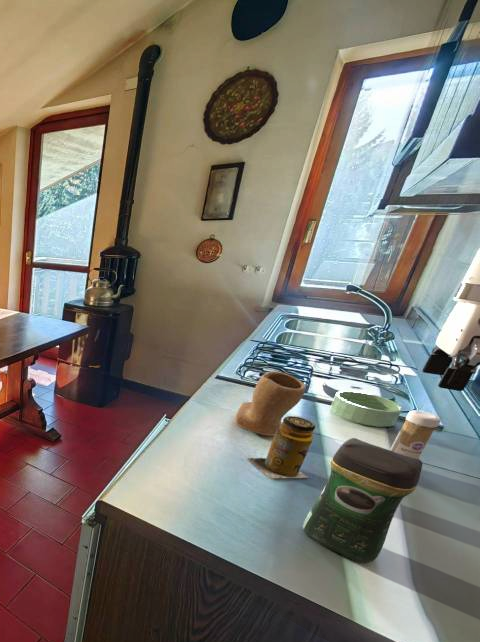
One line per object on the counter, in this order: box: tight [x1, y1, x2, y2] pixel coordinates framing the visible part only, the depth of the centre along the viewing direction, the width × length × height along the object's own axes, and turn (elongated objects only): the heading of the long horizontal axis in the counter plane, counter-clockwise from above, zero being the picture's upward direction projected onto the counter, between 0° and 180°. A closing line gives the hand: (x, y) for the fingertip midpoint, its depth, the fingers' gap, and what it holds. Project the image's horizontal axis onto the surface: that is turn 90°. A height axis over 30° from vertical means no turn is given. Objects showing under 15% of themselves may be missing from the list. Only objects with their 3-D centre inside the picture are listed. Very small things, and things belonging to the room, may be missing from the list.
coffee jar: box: [302, 437, 423, 563], centre depth 63 cm, size 10×8×19 cm
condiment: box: [246, 415, 316, 479], centre depth 83 cm, size 7×8×12 cm
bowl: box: [329, 390, 404, 428], centre depth 107 cm, size 13×13×5 cm
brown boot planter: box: [234, 371, 307, 437], centre depth 100 cm, size 15×12×15 cm
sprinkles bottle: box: [389, 409, 442, 460], centre depth 84 cm, size 5×5×13 cm
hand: (440, 380), depth 78 cm, fingers open, 9 cm apart
